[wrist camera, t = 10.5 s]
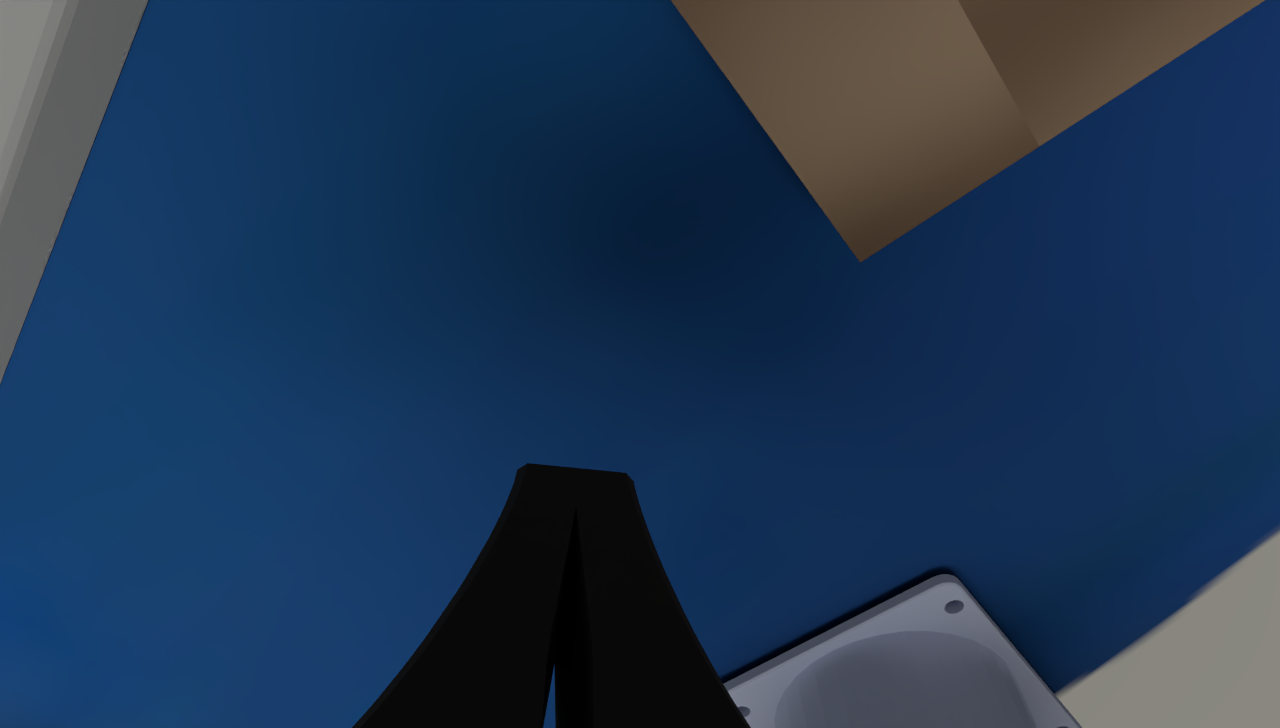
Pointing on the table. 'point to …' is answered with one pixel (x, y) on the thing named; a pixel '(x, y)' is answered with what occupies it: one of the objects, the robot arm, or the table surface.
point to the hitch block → (932, 87)
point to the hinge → (49, 128)
